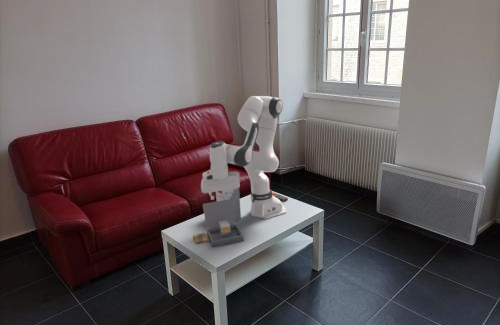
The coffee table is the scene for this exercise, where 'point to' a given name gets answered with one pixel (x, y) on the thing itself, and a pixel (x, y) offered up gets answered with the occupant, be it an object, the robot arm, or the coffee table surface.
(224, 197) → the hard drive box
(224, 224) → the block
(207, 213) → the lid
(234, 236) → the case
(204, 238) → the board
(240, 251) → the coffee table surface
